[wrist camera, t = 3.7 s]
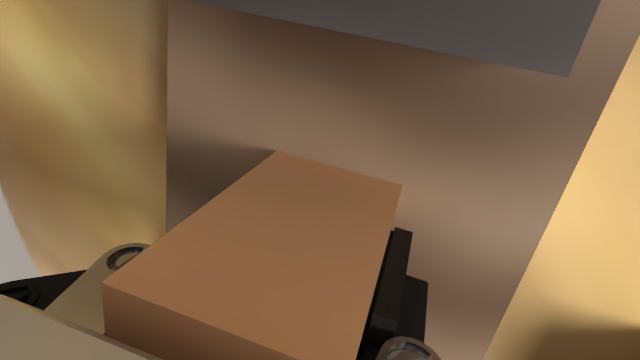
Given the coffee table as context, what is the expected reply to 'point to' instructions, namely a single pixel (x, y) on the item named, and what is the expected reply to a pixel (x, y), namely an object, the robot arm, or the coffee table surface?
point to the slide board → (404, 120)
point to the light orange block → (260, 269)
